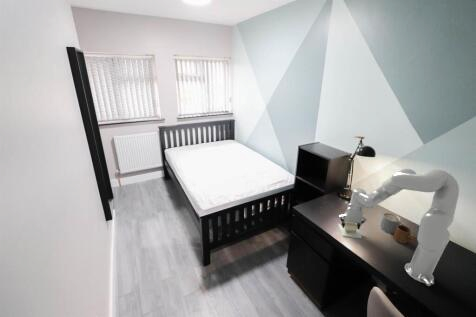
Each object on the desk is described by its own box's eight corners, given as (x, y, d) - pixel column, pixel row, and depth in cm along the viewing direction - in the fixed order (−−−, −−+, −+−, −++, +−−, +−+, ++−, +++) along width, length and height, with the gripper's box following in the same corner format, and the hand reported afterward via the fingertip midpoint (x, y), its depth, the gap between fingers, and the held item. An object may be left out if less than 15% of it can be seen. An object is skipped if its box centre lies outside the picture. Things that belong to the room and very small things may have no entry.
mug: (416, 247, 138) (421, 235, 135) (408, 250, 136) (413, 238, 132) (398, 234, 149) (402, 223, 145) (390, 237, 146) (394, 225, 143)
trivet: (361, 238, 145) (361, 237, 144) (342, 236, 146) (342, 235, 146) (355, 226, 156) (355, 225, 155) (337, 224, 157) (337, 223, 157)
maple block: (355, 233, 147) (357, 226, 145) (346, 232, 148) (348, 225, 146) (352, 228, 153) (354, 221, 151) (343, 227, 154) (345, 220, 151)
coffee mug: (377, 228, 155) (381, 216, 151) (382, 222, 161) (385, 210, 158) (400, 238, 146) (404, 225, 142) (403, 231, 152) (408, 219, 149)
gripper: (343, 208, 141) (338, 229, 147) (372, 211, 139) (365, 232, 145) (340, 202, 148) (335, 222, 154) (367, 204, 146) (361, 225, 152)
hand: (350, 227), depth 150 cm, fingers open, 9 cm apart
